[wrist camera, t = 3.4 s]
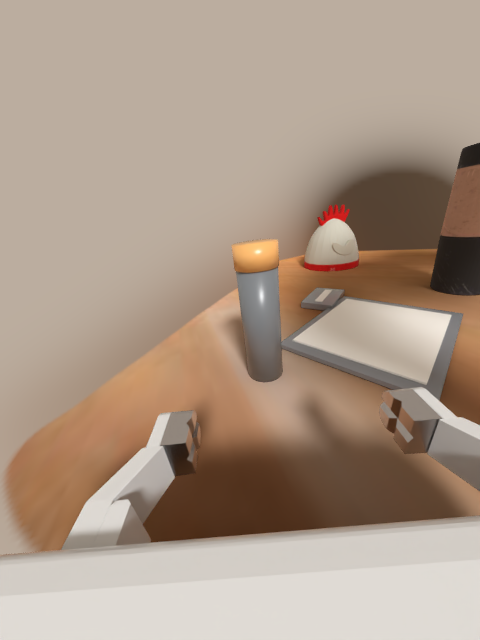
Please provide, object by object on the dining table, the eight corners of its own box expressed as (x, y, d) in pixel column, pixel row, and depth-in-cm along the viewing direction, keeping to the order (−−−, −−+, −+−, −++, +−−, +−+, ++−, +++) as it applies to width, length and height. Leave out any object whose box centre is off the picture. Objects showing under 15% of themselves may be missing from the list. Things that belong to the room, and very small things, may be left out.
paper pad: (344, 298, 39) (344, 295, 39) (462, 317, 29) (463, 312, 29) (279, 347, 28) (278, 342, 27) (437, 406, 17) (439, 399, 17)
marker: (262, 356, 26) (252, 239, 21) (290, 368, 24) (287, 238, 18) (240, 373, 24) (222, 246, 19) (268, 388, 21) (256, 246, 16)
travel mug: (428, 280, 42) (458, 152, 34) (486, 283, 38) (537, 136, 30) (427, 293, 37) (463, 145, 29) (495, 298, 33) (561, 124, 24)
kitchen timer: (370, 266, 57) (378, 199, 51) (318, 274, 56) (320, 206, 49) (339, 257, 70) (343, 203, 63) (297, 264, 68) (296, 209, 62)
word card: (316, 292, 44) (316, 287, 43) (344, 294, 41) (344, 289, 40) (301, 307, 38) (301, 301, 37) (332, 311, 35) (332, 304, 35)
